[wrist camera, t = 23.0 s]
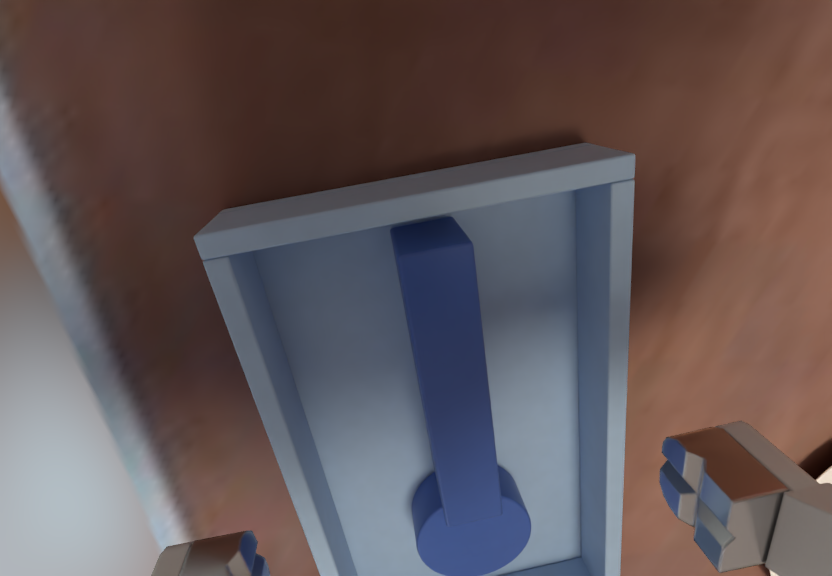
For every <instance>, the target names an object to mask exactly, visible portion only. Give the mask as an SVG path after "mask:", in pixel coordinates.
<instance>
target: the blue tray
mask: <svg viewBox="0 0 832 576" xmlns="http://www.w3.org/2000/svg"><path fill="white" fill-rule="evenodd" d="M634 176H635V154H633V153H629V152H625V151H620V150H616V149H611V148H607V147H603V146H598V145H594V144H590V143H586V142H585V143H580V144H575V145H569V146H564V147H558V148H553V149H548V150H542V151H537V152H531V153H526V154H521V155H515V156H510V157H504V158H499V159H494V160H488V161H483V162H477V163H472V164H466V165H461V166H456V167H450V168H445V169H439V170H434V171H429V172H423V173H418V174H412V175H407V176H402V177H396V178H391V179H385V180H380V181H375V182H369V183H364V184H358V185H353V186H348V187H342V188H337V189H331V190H326V191H321V192H315V193H310V194H304V195H299V196H294V197H288V198H283V199H277V200H272V201H266V202H261V203H256V204H250V205H245V206H239V207H234V208H229V209H223V210H222V211H221V212H220V213H218V215H217V216H215V217H214V218H213V219H212V220H211V221H210V222H209V223H208V224H207V225H206V226H204V227H203V228H202V229H201V230H200V231H199V232H198V233H197V234H196V235H195V236H194V241H195V243H196V246H197V249H198V251H199V254H200V257H201V259H202V260H204V261H203V265H204V267H205V270H206V273H207V275H208V278H209V281H210V283H211V286H212V289H213V291H214V294H215V297H216V299H217V302H218V305H219V307H220V310H221V313H222V315H223V318H224V321H225V323H226V326H227V329H228V331H229V334H230V337H231V339H232V342H233V344H234V347H235V350H236V352H237V355H238V358H239V360H240V363H241V366H242V368H243V371H244V374H245V376H246V379H247V382H248V384H249V387H250V390H251V392H252V395H253V398H254V400H255V403H256V406H257V408H258V411H259V414H260V416H261V419H262V422H263V424H264V427H265V430H266V432H267V435H268V438H269V440H270V443H271V446H272V448H273V451H274V454H275V456H276V459H277V462H278V464H279V467H280V470H281V472H282V475H283V478H284V480H285V483H286V485H287V488H288V491H289V493H290V496H291V499H292V501H293V504H294V507H295V509H296V512H297V515H298V517H299V520H300V523H301V525H302V528H303V531H304V533H305V536H306V539H307V541H308V544H309V547H310V549H311V552H312V555H313V557H314V560H315V563H316V565H317V568H318V571H319V573H320V576H445V575H442V574H439V573H437V572H435V571H433V570H432V569H430V568H429V567H428V566H427V565H425V563H424V562H423V561H422V559H421V558H420V556H419V554H418V551H417V546H416V539H415V531H414V524H413V517H412V501H413V497H414V495H415V492H416V491H417V489H418V487H419V486H420V484H421V483H422V482H423V481H424V480H425V479H426V478H427V477H428V476H429V475H431V474H432V473H433V472H435V470H434V465H433V460H432V454H431V449H430V443H429V438H428V433H427V427H426V422H425V417H424V411H423V406H422V400H421V395H420V390H419V384H418V379H417V374H416V368H415V363H414V357H413V352H412V347H411V341H410V336H409V331H408V325H407V320H406V314H405V309H404V304H403V298H402V293H401V288H400V282H399V277H398V271H397V266H396V261H395V255H394V250H393V245H392V239H391V234H390V230H391V229H392V228H394V227H399V226H404V225H410V224H415V223H421V222H426V221H431V220H437V219H442V218H447V217H453V218H454V219H455V220H456V222H457V223H458V224H459V226H460V227H461V228H462V229H463V231H464V232H465V233H466V235H467V236H468V237H469V239H470V240H471V241H472V243H473V245H474V254H475V263H476V273H477V282H478V291H479V300H480V309H481V318H482V327H483V336H484V345H485V355H486V364H487V373H488V382H489V391H490V400H491V409H492V418H493V428H494V437H495V446H496V455H497V464H498V466H500V467H502V468H504V469H505V470H506V471H507V472H508V473H509V474H510V475H511V476H512V477H513V479H514V480H515V482H516V485H517V487H518V489H519V492H520V494H521V497H522V499H523V502H524V504H525V506H526V509H527V511H528V514H529V516H530V519H531V534H530V538H529V541H528V543H527V545H526V547H525V548H524V549H523V551H522V552H521V553H520V554H519V555H518V556H517V557H516V558H515V559H514V560H513V561H512V562H510V563H509V564H507V565H506V566H504V567H502V568H501V569H498V570H496V571H494V572H491V573H489V574H485V575H482V576H620V566H621V539H622V512H623V485H624V457H625V430H626V403H627V376H628V349H629V322H630V295H631V268H632V241H633V213H634V186H635V181H634V179H632V178H634Z"/></svg>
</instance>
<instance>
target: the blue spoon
mask: <svg viewBox="0 0 832 576" xmlns="http://www.w3.org/2000/svg"><path fill="white" fill-rule="evenodd" d="M390 234H391V239H392V245H393V250H394V255H395V261H396V266H397V271H398V277H399V282H400V288H401V293H402V298H403V304H404V309H405V314H406V320H407V325H408V331H409V336H410V341H411V347H412V352H413V357H414V363H415V368H416V374H417V379H418V384H419V390H420V395H421V400H422V406H423V411H424V417H425V422H426V427H427V433H428V438H429V443H430V449H431V454H432V460H433V465H434V470H435V472H433V473H432V474H431V475H429V476H428V477H427V478H426V479H425V480H424V481H423V482H422V483H421V484H420V486H419V487H418V489H417V491H416V492H415V495H414V497H413V501H412V517H413V524H414V531H415V539H416V546H417V551H418V554H419V556H420V558H421V559H422V561H423V562H424V563H425V565H427V566H428V567H429V568H430V569H432V570H433V571H435V572H437V573H439V574H442V575H445V576H482V575H485V574H489V573H491V572H494V571H496V570H498V569H501V568H502V567H504V566H506V565H507V564H509V563H510V562H512V561H513V560H514V559H515V558H516V557H517V556H518V555H519V554H520V553H521V552H522V551H523V549H524V548H525V547H526V545H527V543H528V541H529V538H530V534H531V519H530V516H529V514H528V511H527V509H526V506H525V504H524V502H523V499H522V497H521V494H520V492H519V489H518V487H517V485H516V482H515V480H514V479H513V477H512V476H511V475H510V474H509V473H508V472H507V471H506V470H505V469H504V468H502V467H500V466H498V464H497V455H496V446H495V437H494V428H493V418H492V409H491V400H490V391H489V382H488V373H487V364H486V355H485V345H484V336H483V327H482V318H481V309H480V300H479V291H478V282H477V273H476V263H475V254H474V245H473V243H472V241H471V240H470V239H469V237H468V236H467V235H466V233H465V232H464V231H463V229H462V228H461V227H460V226H459V224H458V223H457V222H456V220H455V219H454V218H453V217H447V218H442V219H437V220H431V221H426V222H421V223H415V224H410V225H404V226H399V227H394V228H392V229H391V230H390Z"/></svg>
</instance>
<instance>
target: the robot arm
mask: <svg viewBox="0 0 832 576" xmlns="http://www.w3.org/2000/svg"><path fill="white" fill-rule="evenodd" d="M662 453H663V454H664V456H665V457H666V458H667V459H668V460H667V461H666V462H665V464H664V465H663V466H662V467H661V469H660V485H661V489H662V492H663V496H664V498H665V499H666V501H667V503H668V505H669V507H670V508H671V510H672V511H673V512H674V514H675V515H676V517H677V518H678V519H680V520H681V521H683V522H685V523H687V524H689V525H691V526H692V527H694V541H695V542H696V543H697V544H698V546H699V547H700V548H701V550H702V551H703V552H704V554H705V555H706V556H707V558H708V559H709V560H710V562H711V563H712V564H713V565H714V567H715V568H716V569H717V571H718V572H719V573H722V572H727V571H731V570H736V569H741V568H746V567H751V566H756V565H761V564H765V563H766V564H765V567H767V568H768V569H770V570H771V571H773V572H774V573H776V574H777V575H779V576H832V484H830V483H823V484H819V483H818V482H817V481H816V480H815V479H813V478H812V477H811V476H810V475H809V474H808V473H806V472H805V471H804V470H803V469H802V468H800V467H799V466H798V465H797V464H796V463H795V462H793V461H792V460H791V459H790V458H789V457H787V456H786V455H785V454H784V453H783V452H782V451H780V450H779V449H778V448H777V447H776V446H774V445H773V444H772V443H771V442H770V441H769V440H767V439H766V438H765V437H764V436H763V435H761V434H760V433H759V432H758V431H757V430H756V429H754V428H753V427H752V426H751V425H749V424H748V423H745V422H743V421H737V422H733V423H728V424H724V425H719V426H716V427H709V428H704V429H700V430H696V431H692V432H687V433H683V434H679V435H675V436H670V437H667V438H666V439H665V440H664V442H663V446H662ZM257 543H258V542H257V540H256V538H255V536H254V534H253V532H252V531H243V532H238V533H233V534H227V535H222V536H217V537H212V538H207V539H201V540H196V541H192V542H188V543H183V544H178V545H173V546H168V547H166V548H165V550H164V551H163V552H162V553H161V554H160V556H159V558H158V560H157V563H156V565H155V568H154V570H153V573H152V575H151V576H270V572H269V567H268V564H267V562H266V560H265V558H264V557H262V556H260V555H258V554H257V553H256V548H257Z"/></svg>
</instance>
